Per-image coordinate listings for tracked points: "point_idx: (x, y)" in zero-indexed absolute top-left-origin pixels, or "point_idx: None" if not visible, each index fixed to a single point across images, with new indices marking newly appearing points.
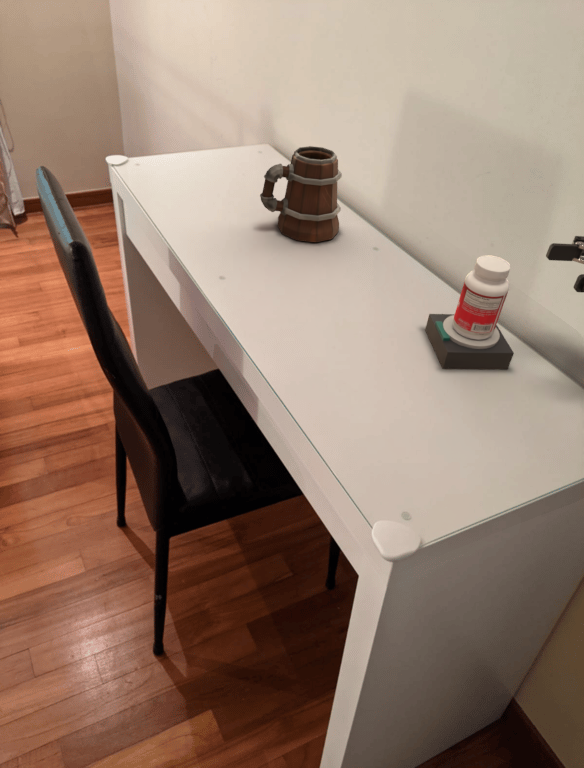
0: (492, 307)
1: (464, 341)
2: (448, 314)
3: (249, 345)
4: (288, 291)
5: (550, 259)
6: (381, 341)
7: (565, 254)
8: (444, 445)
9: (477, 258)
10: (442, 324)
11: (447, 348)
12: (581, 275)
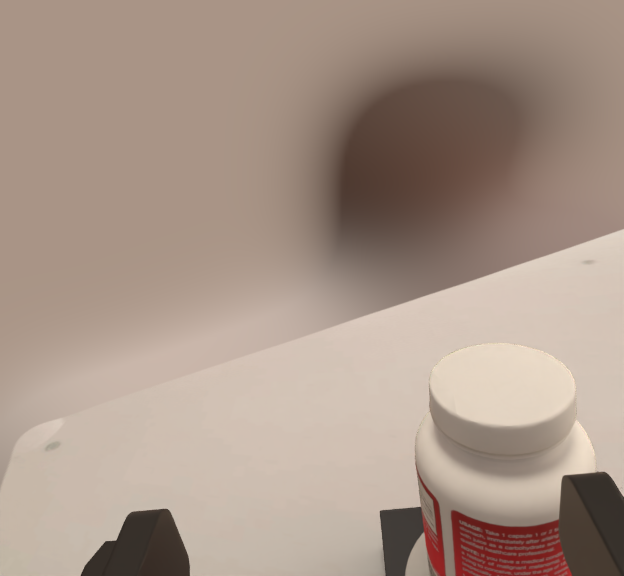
0: (422, 505)
1: (422, 548)
2: None
3: (411, 303)
4: (598, 317)
5: (567, 559)
6: None
7: None
8: None
9: (521, 345)
10: None
11: (396, 512)
12: (151, 512)
